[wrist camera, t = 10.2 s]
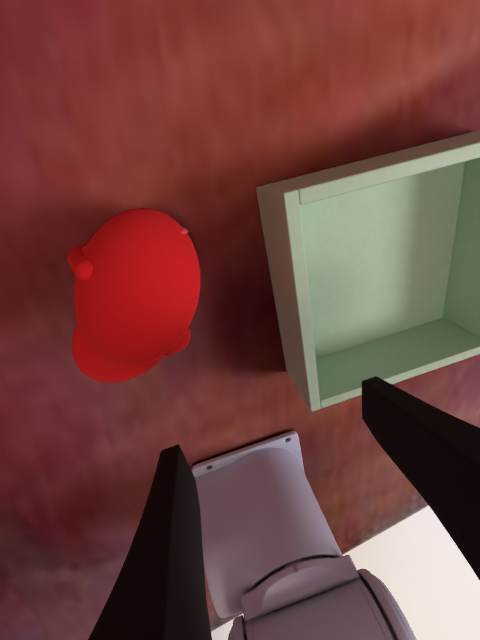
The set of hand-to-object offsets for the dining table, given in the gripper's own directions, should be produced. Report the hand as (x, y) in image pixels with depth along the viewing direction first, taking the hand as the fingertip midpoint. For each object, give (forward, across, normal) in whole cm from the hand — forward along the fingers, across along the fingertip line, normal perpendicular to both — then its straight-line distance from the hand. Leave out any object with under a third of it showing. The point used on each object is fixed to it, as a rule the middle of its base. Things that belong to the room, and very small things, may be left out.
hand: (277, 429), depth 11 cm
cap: (+10, +4, -4) cm, 11 cm away
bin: (+10, -10, -1) cm, 14 cm away
